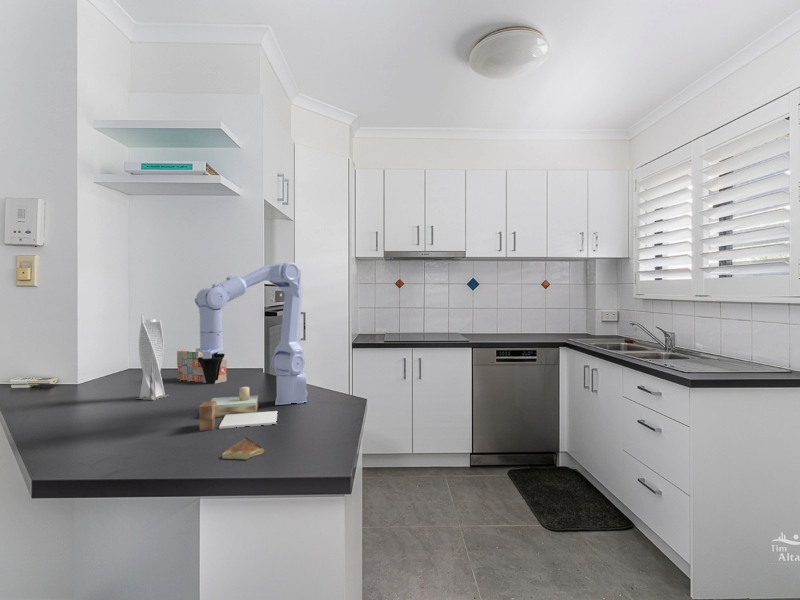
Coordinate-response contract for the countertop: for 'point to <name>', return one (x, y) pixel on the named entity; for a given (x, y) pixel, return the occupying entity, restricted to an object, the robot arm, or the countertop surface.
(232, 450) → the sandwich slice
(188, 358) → the stack of blocks
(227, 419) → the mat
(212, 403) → the brown rectangular block
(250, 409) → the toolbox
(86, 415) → the countertop surface
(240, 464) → the countertop surface
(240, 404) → the lid
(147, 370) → the skyscraper
